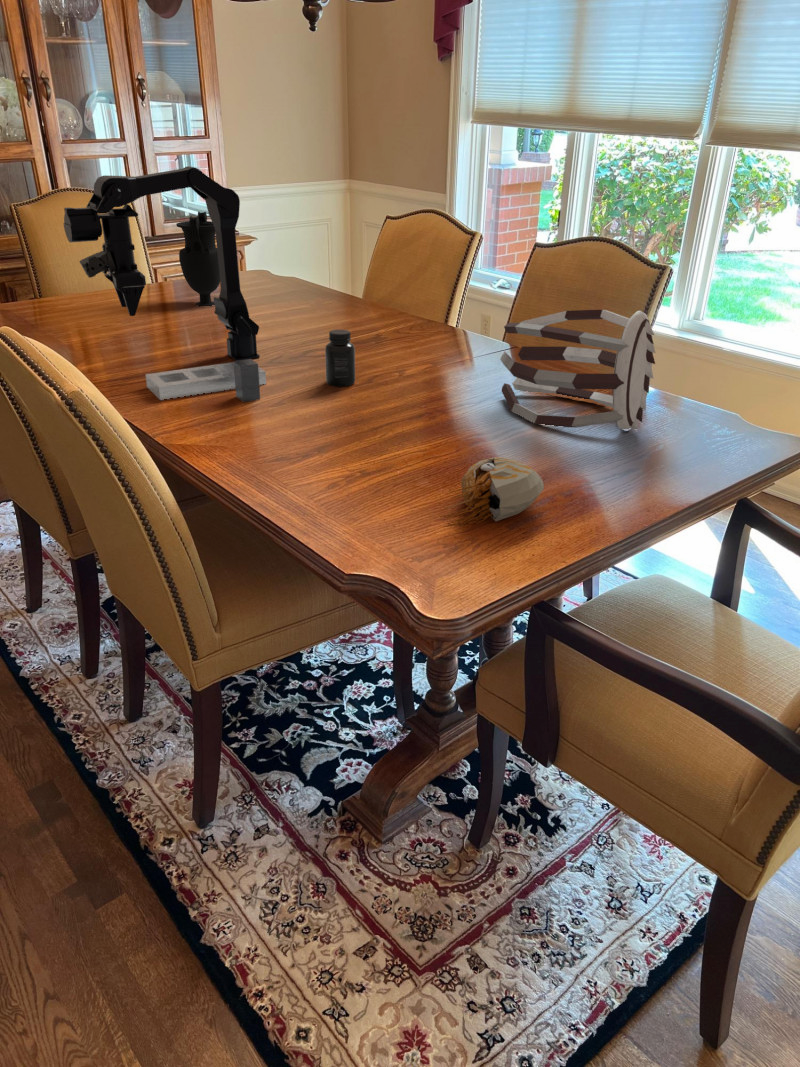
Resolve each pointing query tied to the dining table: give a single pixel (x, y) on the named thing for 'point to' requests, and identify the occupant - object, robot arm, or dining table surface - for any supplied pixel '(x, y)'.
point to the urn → (200, 257)
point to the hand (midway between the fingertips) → (128, 311)
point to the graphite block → (246, 380)
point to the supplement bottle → (340, 359)
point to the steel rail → (195, 380)
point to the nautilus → (498, 489)
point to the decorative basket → (627, 363)
